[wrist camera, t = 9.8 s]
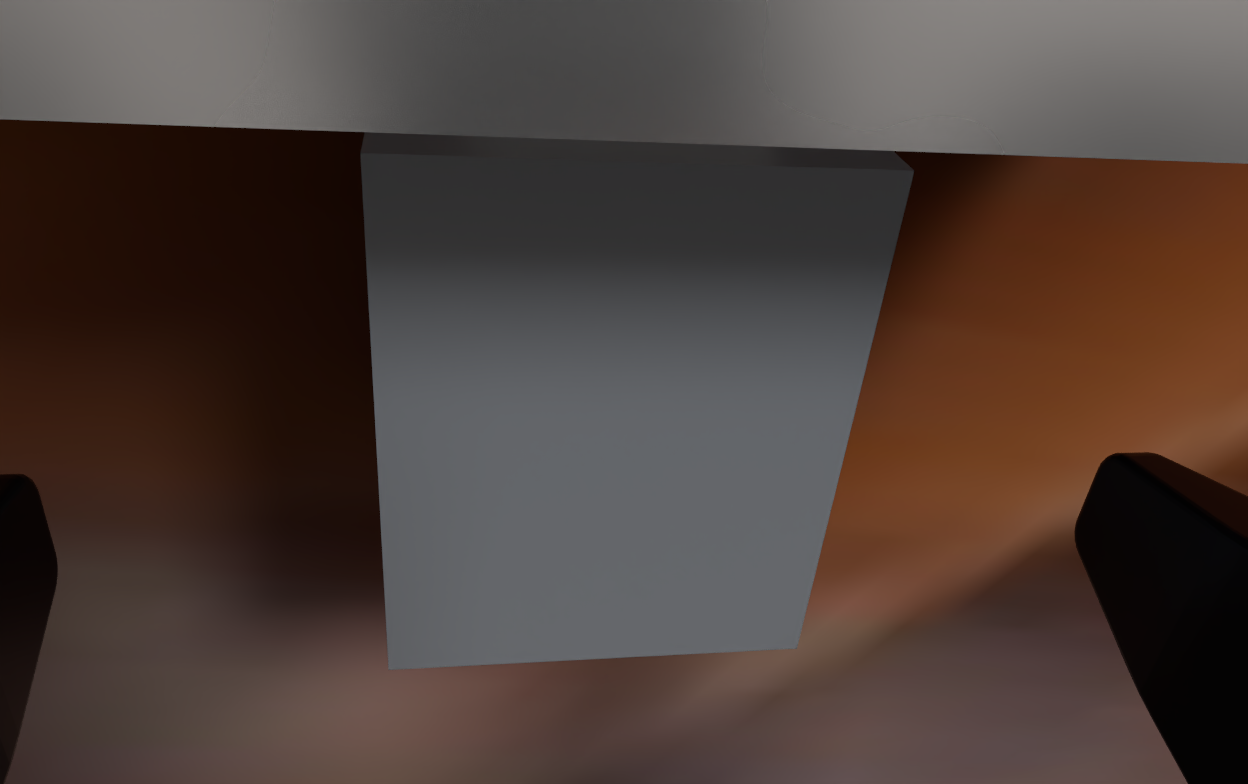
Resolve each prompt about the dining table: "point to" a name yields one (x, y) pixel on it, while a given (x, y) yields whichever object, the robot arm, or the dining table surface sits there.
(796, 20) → the block
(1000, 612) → the dining table surface
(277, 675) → the dining table surface
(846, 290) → the cable plug
